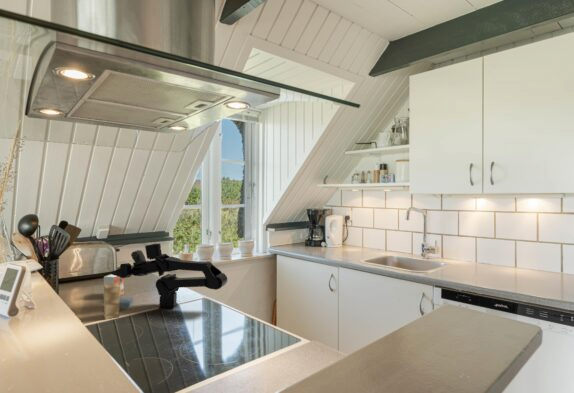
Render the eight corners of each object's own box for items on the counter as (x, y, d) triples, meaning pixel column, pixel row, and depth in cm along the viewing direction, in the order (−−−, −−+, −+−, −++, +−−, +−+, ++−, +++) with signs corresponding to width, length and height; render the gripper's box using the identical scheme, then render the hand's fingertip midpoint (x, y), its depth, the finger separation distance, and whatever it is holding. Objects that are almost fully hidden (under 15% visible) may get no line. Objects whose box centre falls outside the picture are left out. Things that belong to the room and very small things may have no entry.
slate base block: (133, 303, 162) (133, 296, 162) (128, 309, 154) (128, 302, 154) (115, 303, 160) (115, 297, 160) (109, 309, 152) (109, 303, 152)
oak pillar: (116, 313, 147) (117, 283, 147) (119, 317, 143) (119, 286, 143) (103, 315, 144) (104, 285, 144) (105, 319, 140) (106, 288, 140)
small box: (113, 299, 165) (113, 277, 165) (103, 298, 166) (103, 276, 166) (124, 294, 173) (124, 273, 173) (114, 293, 174) (114, 272, 174)
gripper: (158, 249, 169) (128, 255, 171) (136, 249, 151) (103, 255, 153) (160, 272, 167) (130, 278, 169) (138, 275, 149) (105, 281, 151)
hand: (118, 272), depth 160 cm, fingers open, 9 cm apart
